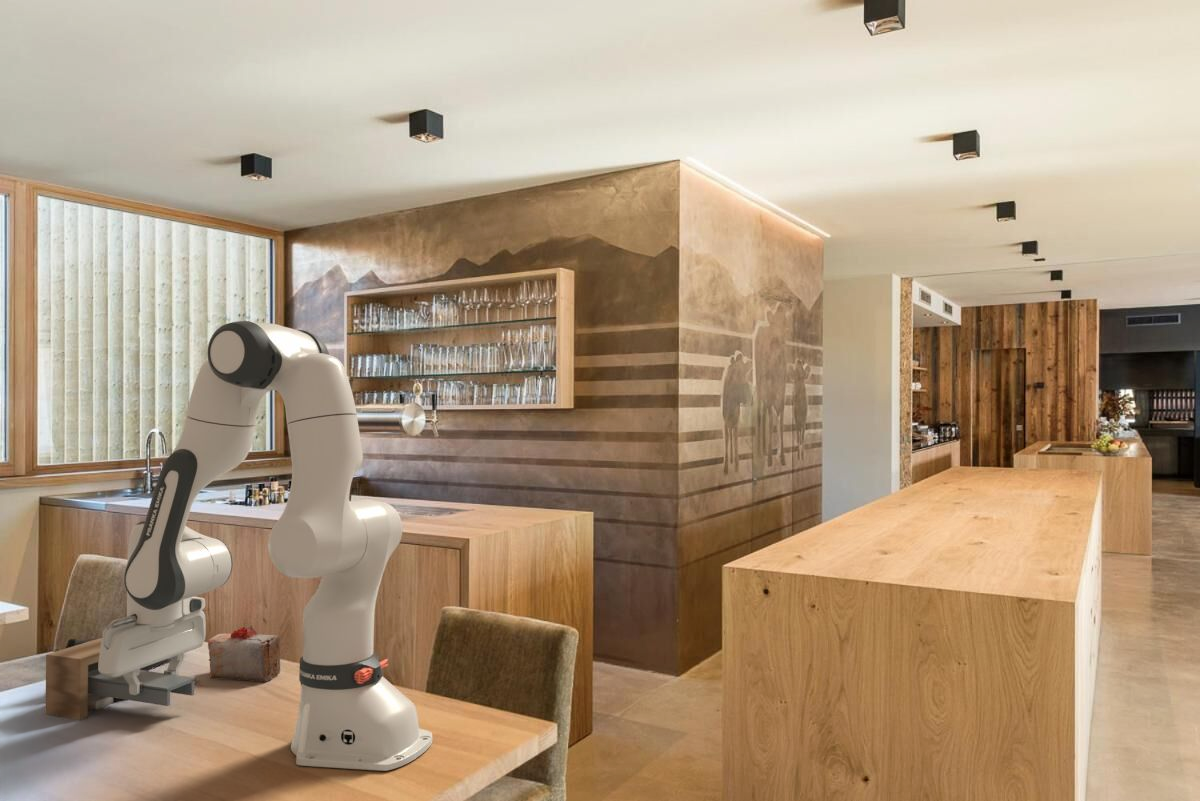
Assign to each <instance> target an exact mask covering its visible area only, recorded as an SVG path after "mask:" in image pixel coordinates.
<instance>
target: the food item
mask: <svg viewBox="0 0 1200 801" xmlns="http://www.w3.org/2000/svg"><path fill="white" fill-rule="evenodd" d="M207 649H208V653H209V654H208V656H209V658H208V661H209V668H210V669H209V670H210V671H209V677H210V679H213V678H218V680H219V679H220V680H223V679H224V680H235V679H240V680H239V681H241V680H242V681H250V680H254V681H253V682H263V681H266V682H268V681H269V680H270V679H271V680H272V679H274V678H275V677H278V676H279V675H280V674H281V637H280V636H279V635H275V634H274V635H273V634H259V633H257V631H256V629H254V628H253V624H252V625H250V626H249V627H247V628H246V626H243V627H241V628H238V629H237V630H236V629H235V630H234V631H233V632H231V633H230V632H229V633H225V632H224V633H219V634H216V635H214V636H213V637H211V638H209V639H208V640H207ZM278 674H279V675H278ZM277 675H278V676H277ZM273 677H274V678H273ZM271 680H270V681H271Z"/></svg>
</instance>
